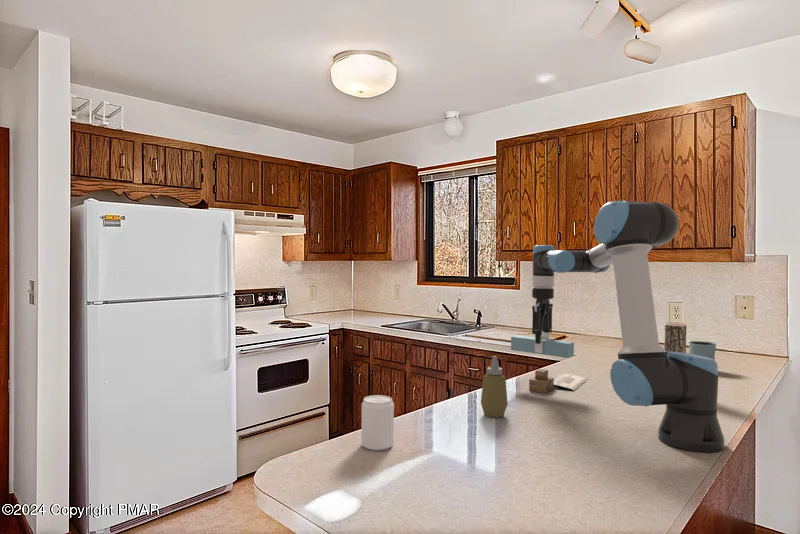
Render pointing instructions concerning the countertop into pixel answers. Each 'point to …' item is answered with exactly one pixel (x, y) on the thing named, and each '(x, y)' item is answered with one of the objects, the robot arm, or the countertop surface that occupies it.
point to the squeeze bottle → (494, 391)
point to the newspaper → (568, 381)
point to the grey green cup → (702, 349)
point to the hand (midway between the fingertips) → (541, 351)
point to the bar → (549, 346)
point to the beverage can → (377, 422)
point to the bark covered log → (675, 337)
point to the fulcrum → (541, 381)
